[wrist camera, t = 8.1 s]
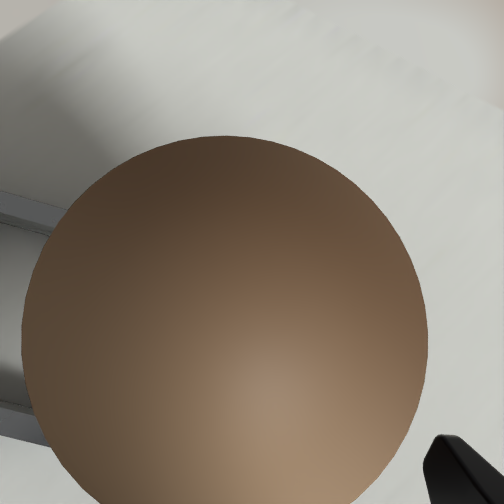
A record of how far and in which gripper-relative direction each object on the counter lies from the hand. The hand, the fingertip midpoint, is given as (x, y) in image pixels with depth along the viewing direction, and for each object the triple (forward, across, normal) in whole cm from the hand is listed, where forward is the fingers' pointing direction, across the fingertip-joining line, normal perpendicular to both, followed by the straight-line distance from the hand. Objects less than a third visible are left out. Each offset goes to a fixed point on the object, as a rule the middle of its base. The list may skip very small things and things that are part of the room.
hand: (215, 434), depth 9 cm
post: (+7, 0, +4) cm, 8 cm away
